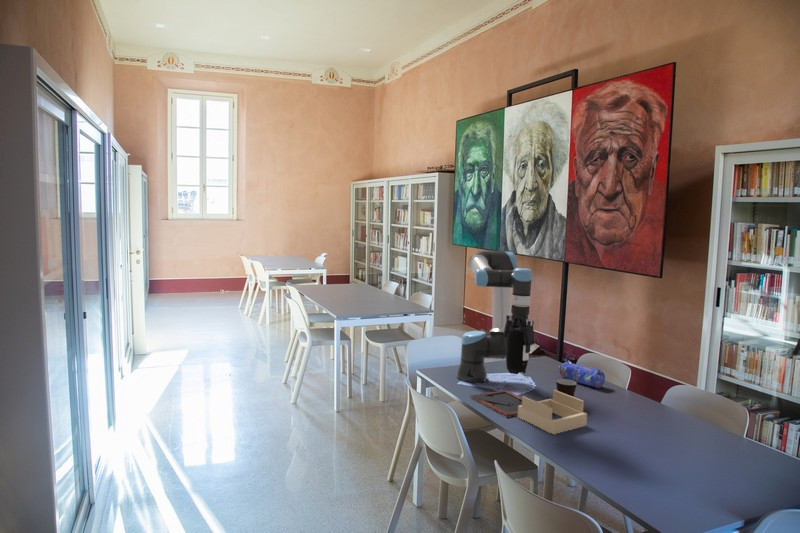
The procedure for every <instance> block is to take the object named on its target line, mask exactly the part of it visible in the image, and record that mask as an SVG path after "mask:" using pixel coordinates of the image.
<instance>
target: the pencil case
mask: <svg viewBox="0 0 800 533" xmlns="http://www.w3.org/2000/svg"><path fill="white" fill-rule="evenodd" d="M558 369H559V374H560V376H561V378H562V379H568V380H572V381H575V382H576V383H577V384H580V385H583V386H584V385H585V386H589V387H593V388H596V389H601V387H603V386H604V384H605V381H606V377H605V373H604V372H603V371H602V370H601V369H599V368H593V367H587V366H583V365H580V364H577V363H573V362H571V361H570V360H566V361H564V362H563V363H562V364H559V366H558Z"/></svg>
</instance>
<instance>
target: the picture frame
mask: <svg viewBox="0 0 800 533" xmlns="http://www.w3.org/2000/svg"><path fill="white" fill-rule="evenodd" d="M471 398H472V399H471ZM470 399H471V400H473V399H474V400H473V401H475V400H476V401H475V402H477V401H478V402H477V403H479V402H480V403H482V404H484V405H485V407H486V406H487V407H486V408H488V407H489V408H488V409H490V408H491V409H493V410H494V412H495V411H496V413H497V412H498V413H497V414H499V413H500V414H499V415H501V414H502V415H504V416H506V417H508V418H510V417H509V416H513V417H517V416H516V415H518V406H519V405H522V397H521V396H518V395H517V394H514V393H512V392H511V391H509V390H506V389H505V390H498V391H492V392H491V391H489V392H484V393H478V394H472V395H470ZM480 403H479V404H480ZM482 404H481V405H482ZM484 405H483V406H484ZM491 409H490V410H491ZM493 410H492V411H493ZM502 415H501V416H502ZM504 416H503V417H504ZM506 417H505V418H506Z"/></svg>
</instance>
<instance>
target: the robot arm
mask: <svg viewBox="0 0 800 533" xmlns="http://www.w3.org/2000/svg"><path fill="white" fill-rule="evenodd" d="M467 264H468V268H469V270H470V272H472V273H473V274H474V284H475V286H476V287H482V288H484V287H486V288H492V326H491V327H492V328H491V329H490V330H489V334H487V333H486V332H485V331H483V330H471V331H466V332H465V333H463V335H462V336H461V341H460V343H461V349H460V350H461V353H460V361H459V362H460V363H459V366H458V369H457V371H456V375H455V377H456V376H457V377H456V379H458V378H459V379H458V380H460V379H461V380H460V381H462V380H465V381H464V382H467V381H471V382H470V383H479V382H478V381H483V382H485V381H487V379H488V378H487V377H488V374H487V370H486V367H485V359H494V360H495V359H496V360H497V359H500V360H506V347H507V338H508V334H509V330H510V326H512V327H513V328H517V327H520V329H527V331H526V330H523V338H524V342H525V344H524V346H523V361H525V360H528V361H529V360H530V359H529V358H530V357H529V356H530V355H529V354H530V353H531V346H532V345H535V344H536V342H535V332H534V324H535V322H534V320H530V319H529V316H530V308H531V307H530V306H531V292H532V279H533V273H532V272H533V271H532V270H531V269H530V268H526V267H525V268H523V267H518V261H517V257H516V255H515V253H514V252H512V251H506V250H505V251H504V250H503V251H501V250H499V251H498V250H482V251H477V252H475V253H473V254H472V255H471V256H470V258H469V259H468V262H467ZM511 289H512V295H511ZM511 296H512V297H511ZM524 326H525V327H524ZM484 380H485V381H484Z"/></svg>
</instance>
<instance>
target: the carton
mask: <svg viewBox="0 0 800 533" xmlns="http://www.w3.org/2000/svg"><path fill="white" fill-rule="evenodd" d="M521 398H522V405H519V406H518V415H517V416H516V417H518V419H519V418H520V420H521V419H522V420H521V421H524V420H525V421H524V422H526V421H527V422H526V423H528V422H529V423H528V424H530V423H531V424H530V425H532V424H533V425H532V426H534V425H535V426H534V427H536V426H537V427H536V428H538V427H539V428H538V429H540V428H541V430H542V431H545V432H547V433H549V434H551V433H552V435H553V434H554V435H557V433H558V434H561V433H565V432H567V431H568V430H569V431H571V430H575V429H579V428H582V427H583V428H584V427H586V426H587V422H588V421H587V419H588V413H587V412H584V406H585V404H584V403H585V401H584V400H583V399H580V398H577V397H575V396H574V397H572V396H570V395H567V394H564V393H562V392H559V391H557V389H553V391H552V398H546V399H543V400H539V401H537V400H534V399H531V398H529V397H526V396H524V395H523V396H522V397H521ZM553 414H555V415H557V416H559V417H561V418H557V419H553ZM564 431H565V432H564ZM560 432H561V433H560Z"/></svg>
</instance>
